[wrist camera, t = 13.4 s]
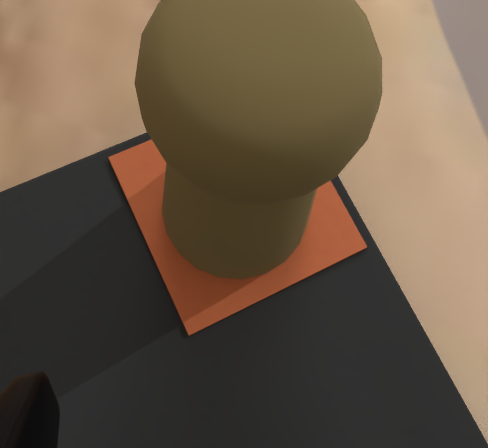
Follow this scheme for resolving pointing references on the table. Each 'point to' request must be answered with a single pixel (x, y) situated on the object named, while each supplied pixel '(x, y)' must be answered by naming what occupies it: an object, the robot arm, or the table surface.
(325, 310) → the rubber mat
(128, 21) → the table surface
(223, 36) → the cork
